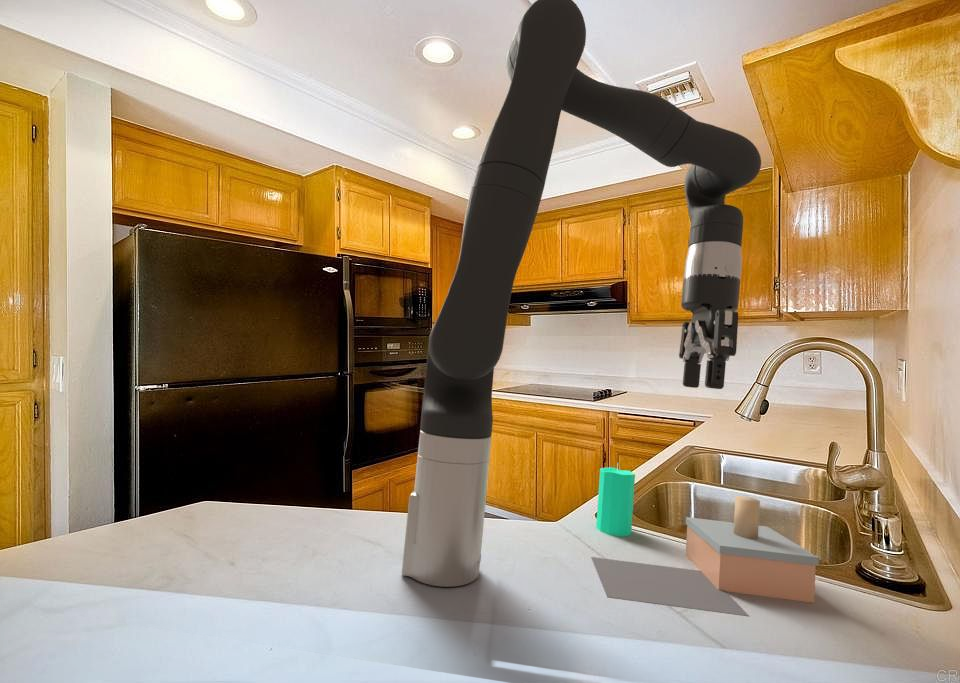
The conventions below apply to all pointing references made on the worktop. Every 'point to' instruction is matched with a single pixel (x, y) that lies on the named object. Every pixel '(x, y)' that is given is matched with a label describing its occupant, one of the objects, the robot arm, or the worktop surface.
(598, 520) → the candle
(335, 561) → the worktop surface
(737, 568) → the dish
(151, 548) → the worktop surface
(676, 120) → the robot arm
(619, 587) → the mat
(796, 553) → the lid
